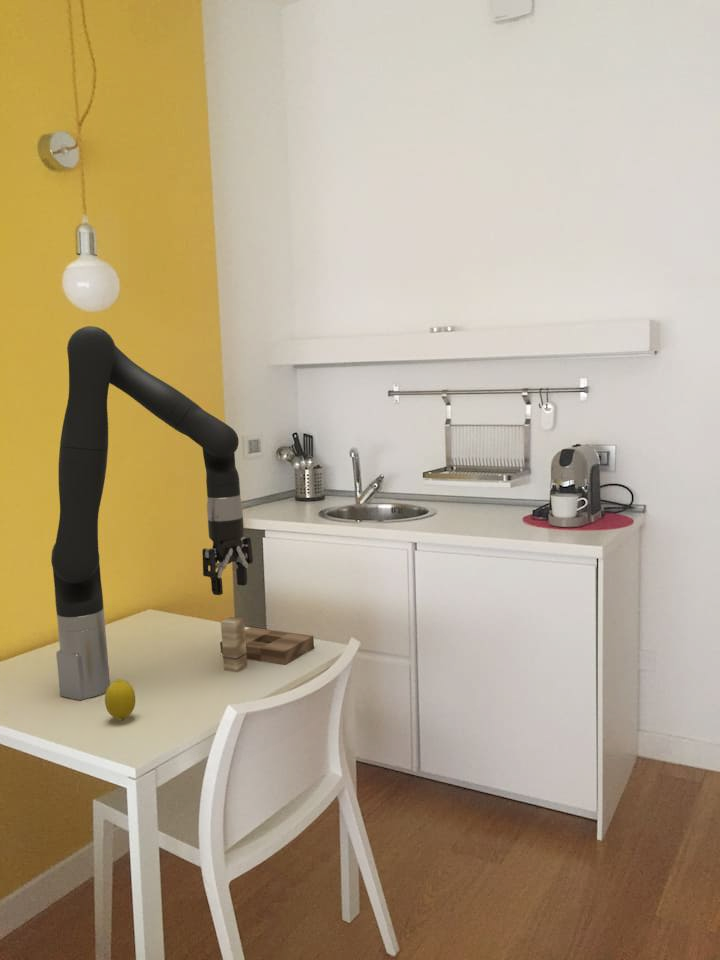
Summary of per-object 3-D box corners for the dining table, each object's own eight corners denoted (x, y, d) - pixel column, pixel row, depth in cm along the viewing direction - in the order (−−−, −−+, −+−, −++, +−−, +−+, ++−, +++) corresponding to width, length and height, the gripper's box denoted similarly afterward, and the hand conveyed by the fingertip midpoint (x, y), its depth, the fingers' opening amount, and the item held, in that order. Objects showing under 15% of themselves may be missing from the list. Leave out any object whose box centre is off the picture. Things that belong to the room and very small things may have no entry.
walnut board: (284, 664, 183) (284, 651, 183) (220, 654, 192) (220, 642, 191) (314, 648, 193) (313, 635, 193) (252, 639, 202) (251, 627, 202)
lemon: (138, 722, 155) (134, 682, 154) (107, 728, 154) (103, 687, 153) (135, 712, 161) (132, 672, 160) (106, 717, 159) (102, 677, 158)
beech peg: (237, 672, 180) (233, 623, 178) (223, 670, 182) (220, 621, 180) (247, 666, 183) (244, 618, 182) (234, 664, 185) (231, 616, 183)
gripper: (218, 523, 170) (223, 599, 172) (258, 511, 182) (263, 583, 184) (189, 521, 174) (195, 596, 176) (231, 510, 186) (236, 580, 188)
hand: (230, 589), depth 180 cm, fingers open, 8 cm apart
